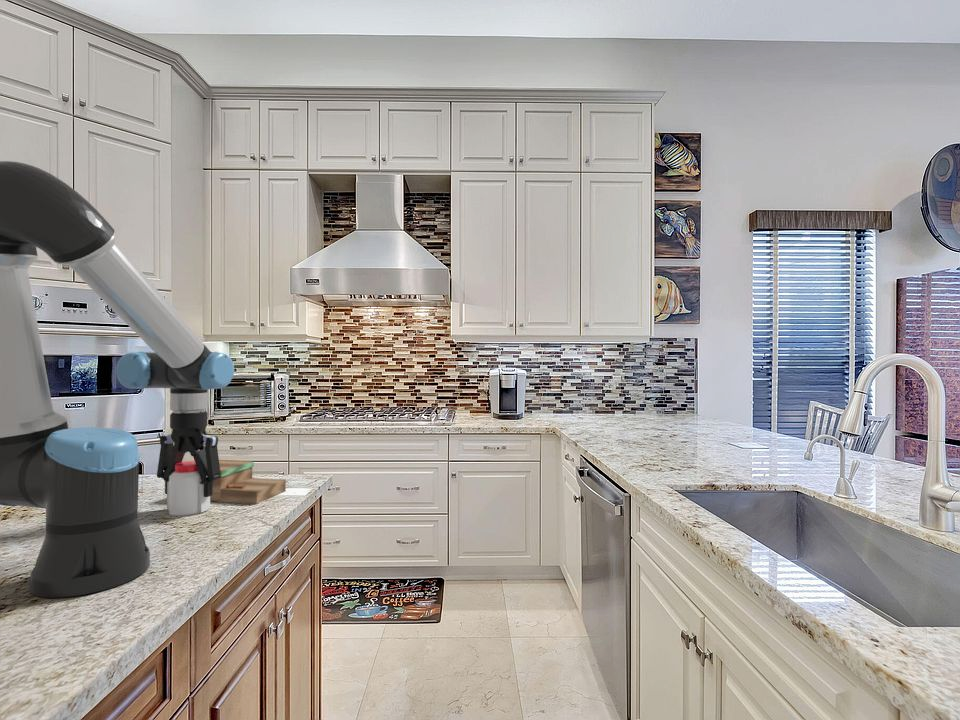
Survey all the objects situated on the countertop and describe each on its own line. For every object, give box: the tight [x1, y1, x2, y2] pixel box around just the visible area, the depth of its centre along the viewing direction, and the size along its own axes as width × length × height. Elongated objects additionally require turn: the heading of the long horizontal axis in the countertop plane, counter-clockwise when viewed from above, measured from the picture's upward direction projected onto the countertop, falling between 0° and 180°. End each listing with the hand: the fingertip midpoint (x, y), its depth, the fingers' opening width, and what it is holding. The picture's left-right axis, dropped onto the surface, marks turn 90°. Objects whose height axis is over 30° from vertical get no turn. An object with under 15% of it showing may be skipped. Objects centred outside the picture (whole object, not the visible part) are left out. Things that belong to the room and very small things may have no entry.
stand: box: [210, 459, 287, 505], centre depth 127 cm, size 12×20×8 cm, turn 79°
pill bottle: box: [168, 460, 202, 517], centre depth 114 cm, size 8×8×11 cm
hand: (188, 509), depth 114 cm, fingers closed on pill bottle, 8 cm apart
